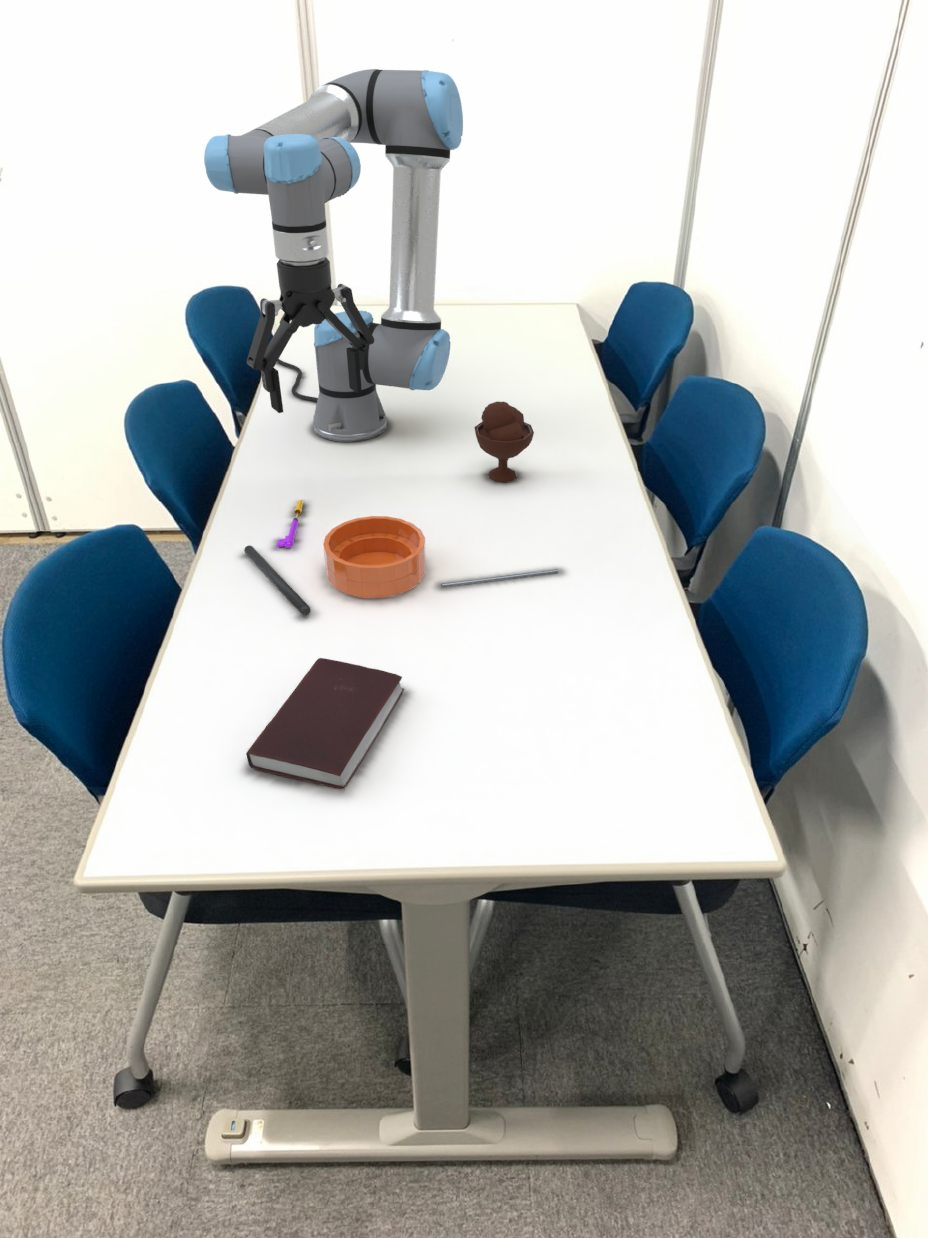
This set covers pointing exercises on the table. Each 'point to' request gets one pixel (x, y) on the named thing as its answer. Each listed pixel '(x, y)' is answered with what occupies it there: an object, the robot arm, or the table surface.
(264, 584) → the table surface
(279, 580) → the stick
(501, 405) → the ice cream bowl
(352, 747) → the book
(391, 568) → the bowl
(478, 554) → the table surface
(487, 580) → the rod
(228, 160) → the robot arm
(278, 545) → the purple gold bent tool
